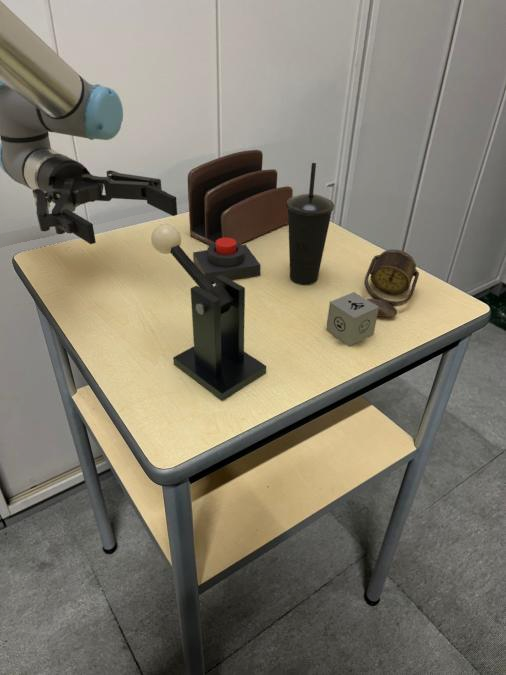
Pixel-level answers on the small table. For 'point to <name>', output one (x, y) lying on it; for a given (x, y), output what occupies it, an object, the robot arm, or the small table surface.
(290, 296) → the small table surface
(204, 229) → the letter holder
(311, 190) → the drinking cup
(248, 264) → the button box
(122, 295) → the small table surface
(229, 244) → the red button
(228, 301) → the lever
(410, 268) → the brown antique clock
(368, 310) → the dice cube
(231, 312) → the bracket
